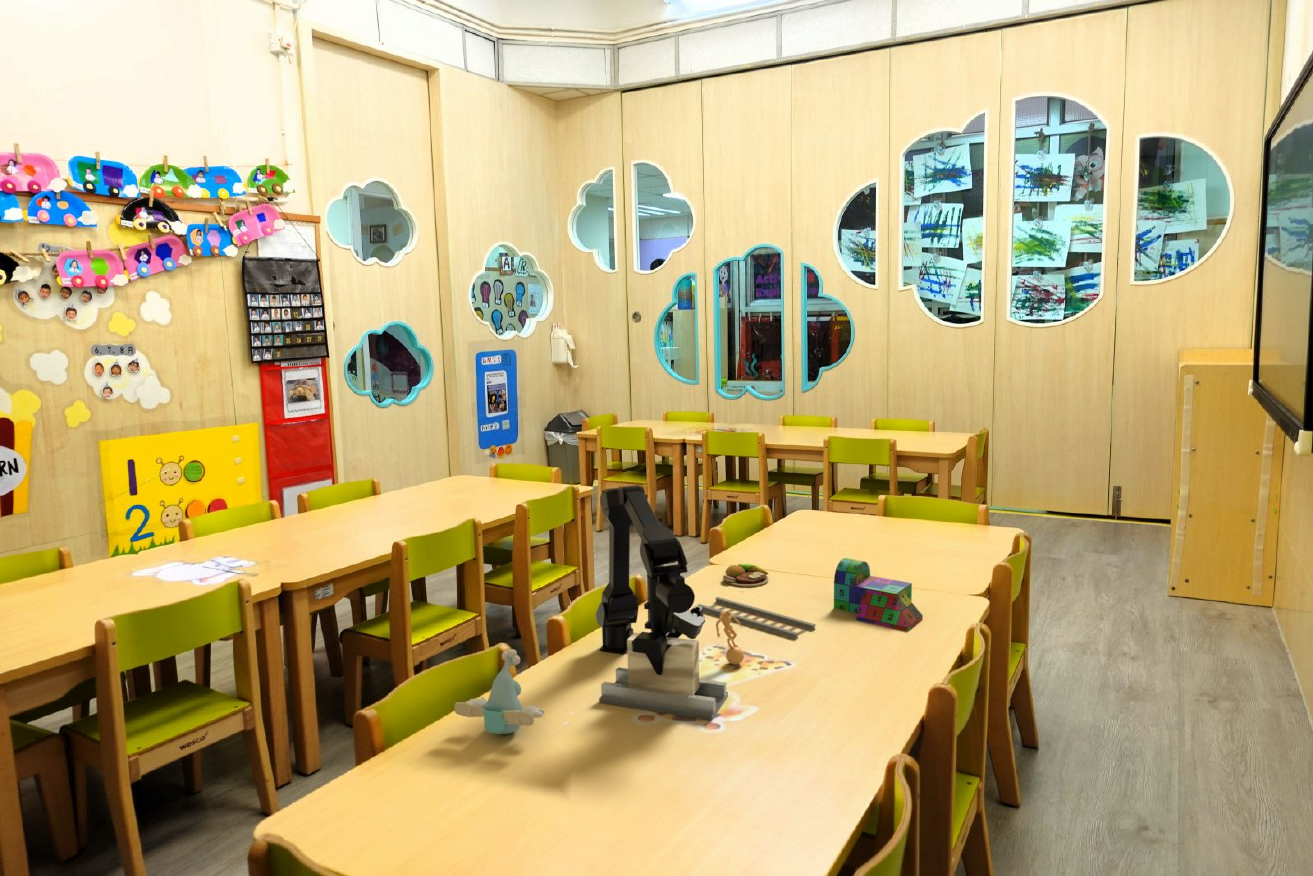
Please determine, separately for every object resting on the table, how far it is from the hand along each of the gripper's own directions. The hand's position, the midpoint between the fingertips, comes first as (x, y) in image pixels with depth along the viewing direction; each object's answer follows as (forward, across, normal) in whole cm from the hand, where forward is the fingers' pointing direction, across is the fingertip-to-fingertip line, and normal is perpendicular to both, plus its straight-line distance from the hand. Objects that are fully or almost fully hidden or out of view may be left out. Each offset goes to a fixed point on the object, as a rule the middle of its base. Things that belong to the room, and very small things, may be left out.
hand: (663, 670), depth 176 cm
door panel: (+4, 0, 0) cm, 4 cm away
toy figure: (+6, -22, +24) cm, 33 cm away
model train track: (+7, +50, -6) cm, 51 cm away
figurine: (+7, +22, -8) cm, 24 cm away
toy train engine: (+7, +64, -35) cm, 73 cm away
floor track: (+6, 0, 0) cm, 6 cm away
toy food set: (+7, +80, +5) cm, 80 cm away
